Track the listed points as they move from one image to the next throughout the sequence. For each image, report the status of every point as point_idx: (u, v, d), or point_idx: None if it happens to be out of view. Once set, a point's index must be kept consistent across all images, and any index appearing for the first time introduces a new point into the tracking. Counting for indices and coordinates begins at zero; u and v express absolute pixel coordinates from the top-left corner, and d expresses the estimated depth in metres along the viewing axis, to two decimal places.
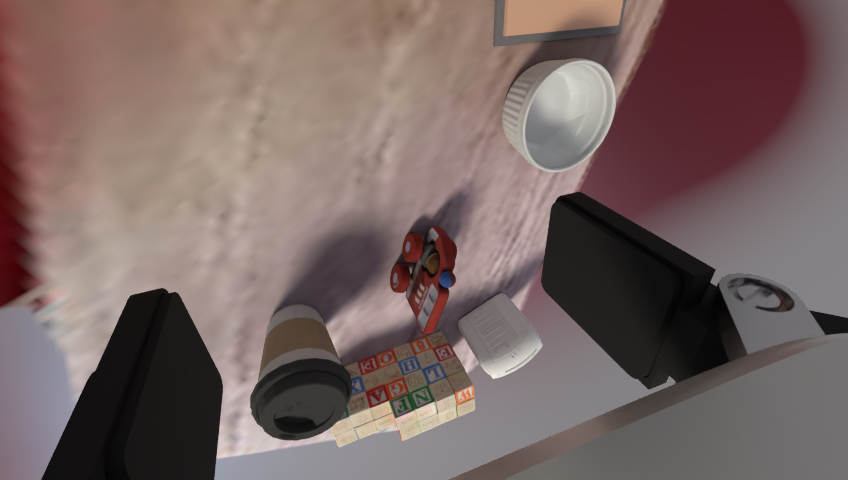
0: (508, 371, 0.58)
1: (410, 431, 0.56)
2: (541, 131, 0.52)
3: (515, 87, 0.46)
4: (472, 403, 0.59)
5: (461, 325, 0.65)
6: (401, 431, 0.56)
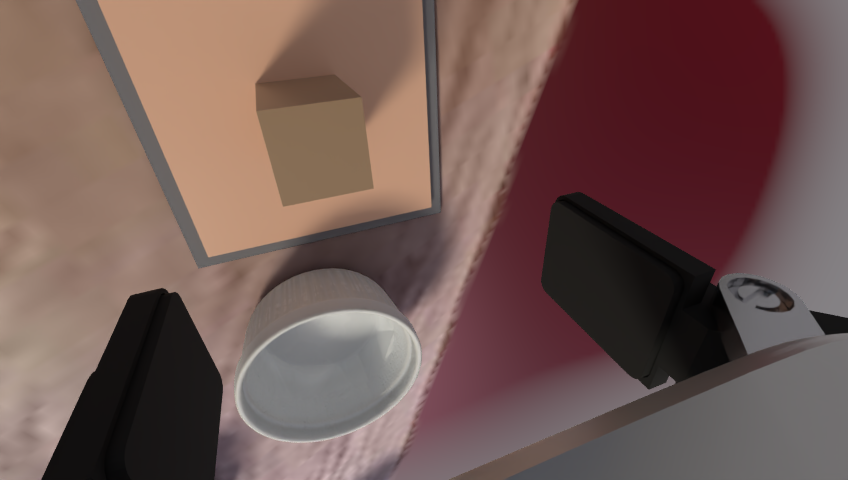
0: None
1: None
2: (335, 349, 0.34)
3: (250, 322, 0.28)
4: None
5: None
6: None
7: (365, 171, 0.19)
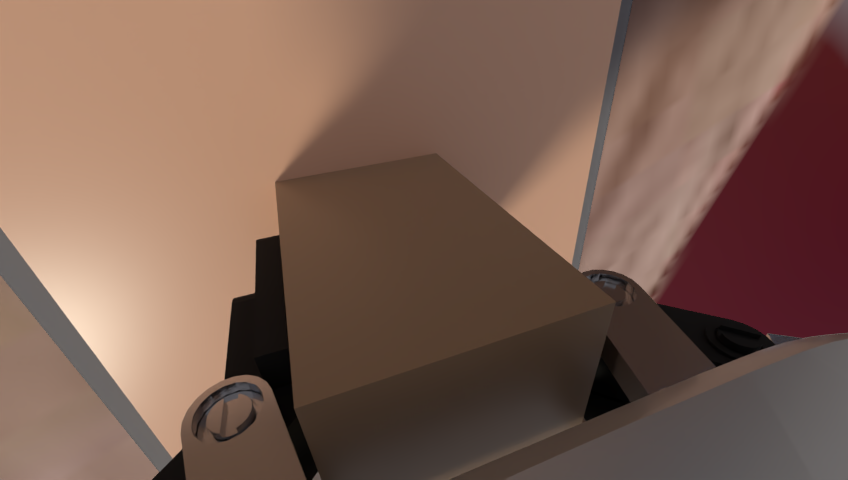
0: None
1: None
2: None
3: None
4: None
5: None
6: None
7: None
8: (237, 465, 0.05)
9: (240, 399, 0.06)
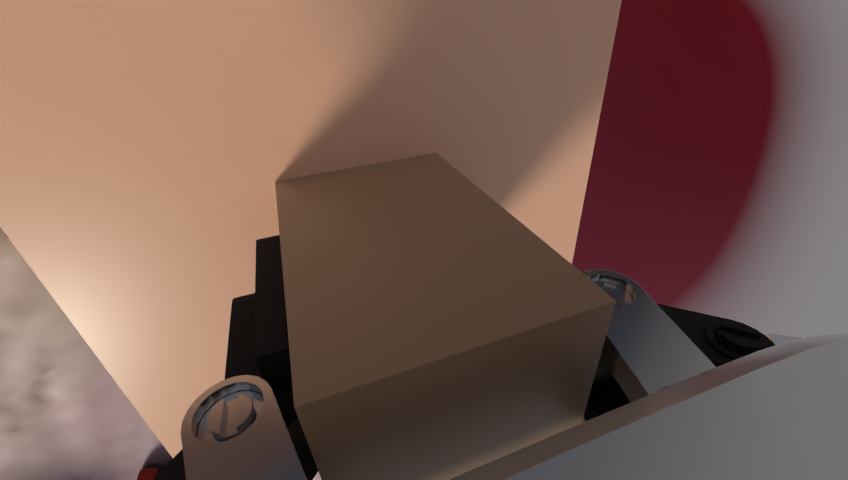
0: None
1: None
2: None
3: None
4: None
5: None
6: None
7: None
8: (237, 465, 0.05)
9: (240, 399, 0.06)
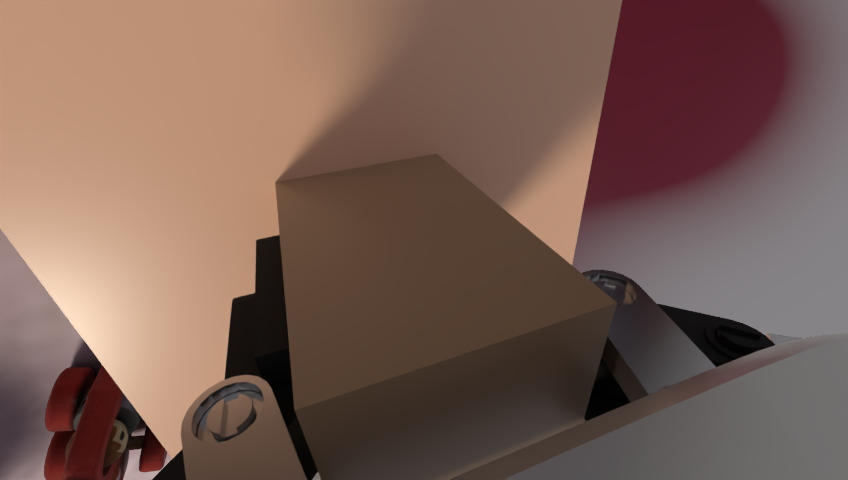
0: None
1: None
2: None
3: None
4: None
5: None
6: None
7: None
8: (237, 465, 0.05)
9: (240, 399, 0.06)
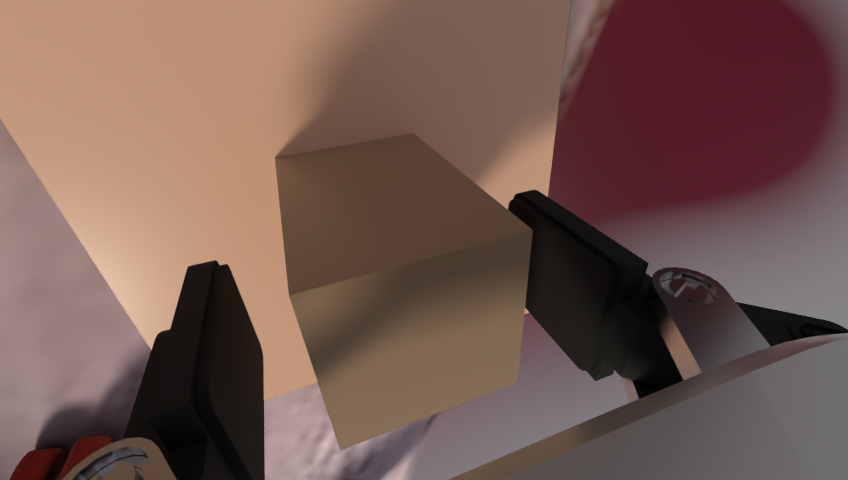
0: None
1: None
2: None
3: None
4: None
5: None
6: None
7: (509, 360, 0.09)
8: None
9: (120, 469, 0.05)
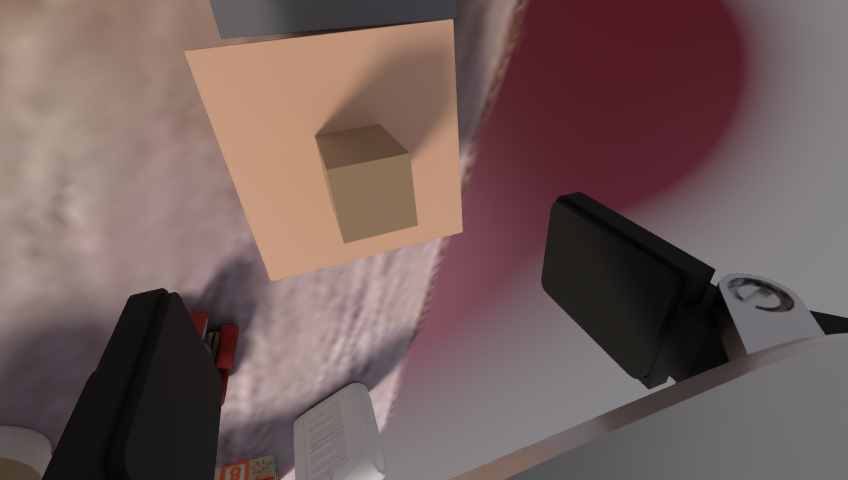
0: None
1: None
2: None
3: None
4: None
5: (294, 429, 0.47)
6: None
7: (411, 212, 0.22)
8: None
9: None
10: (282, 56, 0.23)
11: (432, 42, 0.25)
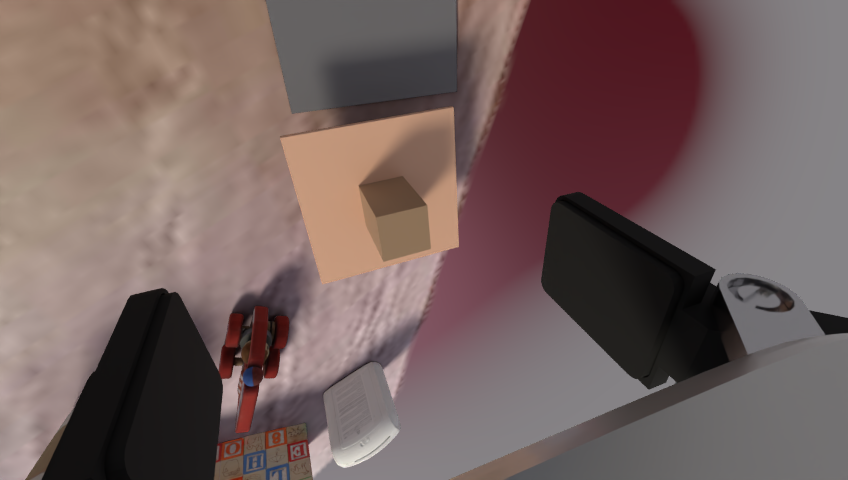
0: (358, 461, 0.51)
1: None
2: None
3: None
4: None
5: (324, 399, 0.58)
6: None
7: (427, 240, 0.34)
8: None
9: None
10: (341, 137, 0.34)
11: (439, 122, 0.37)
